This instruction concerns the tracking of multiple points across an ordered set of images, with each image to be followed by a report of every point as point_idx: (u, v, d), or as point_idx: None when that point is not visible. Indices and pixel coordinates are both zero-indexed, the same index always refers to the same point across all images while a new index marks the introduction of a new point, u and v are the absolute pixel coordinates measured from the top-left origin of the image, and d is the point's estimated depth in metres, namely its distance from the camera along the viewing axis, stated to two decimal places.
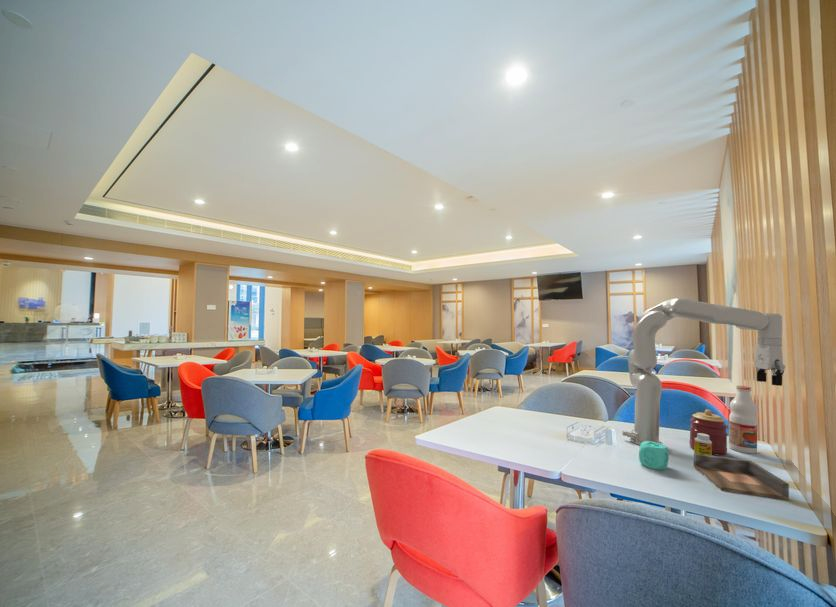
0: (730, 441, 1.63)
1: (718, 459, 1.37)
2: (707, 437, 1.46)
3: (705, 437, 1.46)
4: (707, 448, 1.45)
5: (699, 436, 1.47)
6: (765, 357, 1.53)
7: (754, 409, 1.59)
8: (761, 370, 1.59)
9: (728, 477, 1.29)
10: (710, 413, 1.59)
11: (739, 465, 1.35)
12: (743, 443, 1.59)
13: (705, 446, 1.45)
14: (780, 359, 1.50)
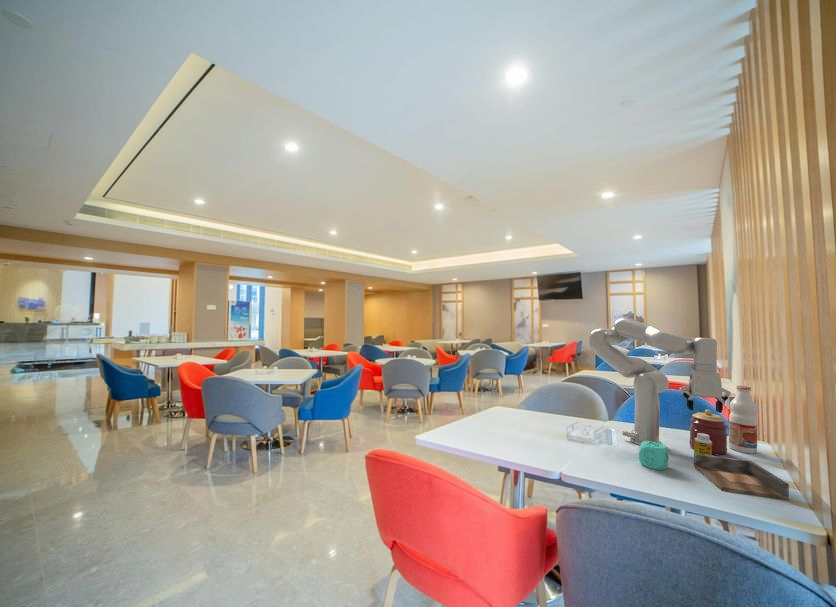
0: (730, 441, 1.63)
1: (718, 459, 1.37)
2: (707, 436, 1.46)
3: (705, 437, 1.46)
4: (707, 448, 1.45)
5: (699, 436, 1.47)
6: (715, 385, 1.45)
7: (754, 409, 1.59)
8: None
9: (728, 477, 1.29)
10: (710, 413, 1.59)
11: (739, 465, 1.35)
12: (743, 443, 1.59)
13: (705, 446, 1.45)
14: None
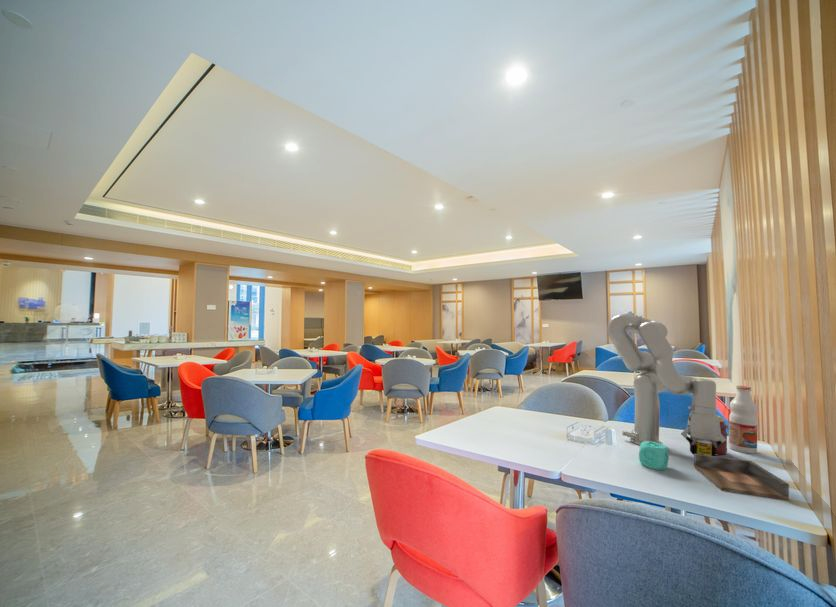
0: (730, 441, 1.63)
1: (718, 459, 1.37)
2: None
3: None
4: (707, 448, 1.45)
5: None
6: (714, 428, 1.45)
7: (754, 409, 1.59)
8: None
9: (728, 477, 1.29)
10: None
11: (739, 465, 1.35)
12: (743, 443, 1.59)
13: (705, 446, 1.45)
14: None
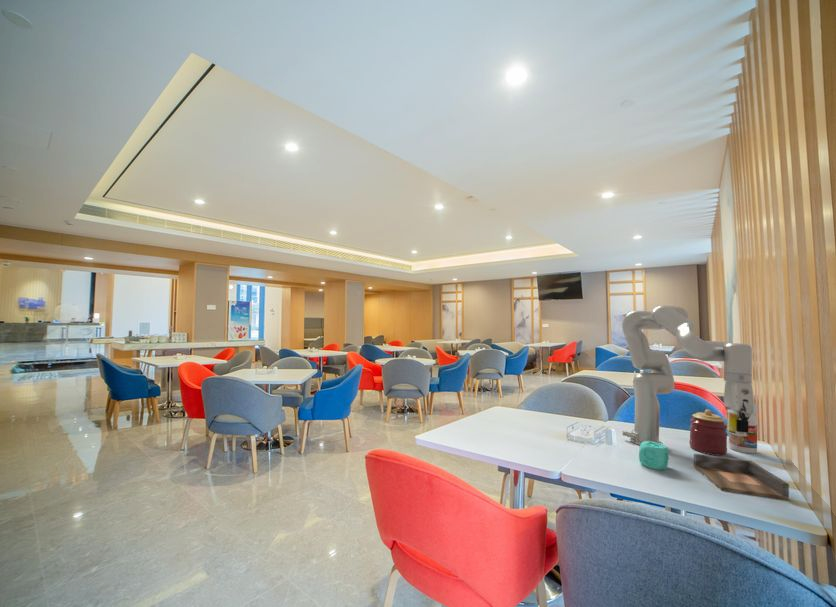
0: (730, 441, 1.63)
1: (718, 459, 1.37)
2: None
3: None
4: None
5: None
6: None
7: (754, 409, 1.59)
8: None
9: (728, 477, 1.29)
10: (710, 413, 1.59)
11: (739, 465, 1.35)
12: (743, 443, 1.59)
13: None
14: None
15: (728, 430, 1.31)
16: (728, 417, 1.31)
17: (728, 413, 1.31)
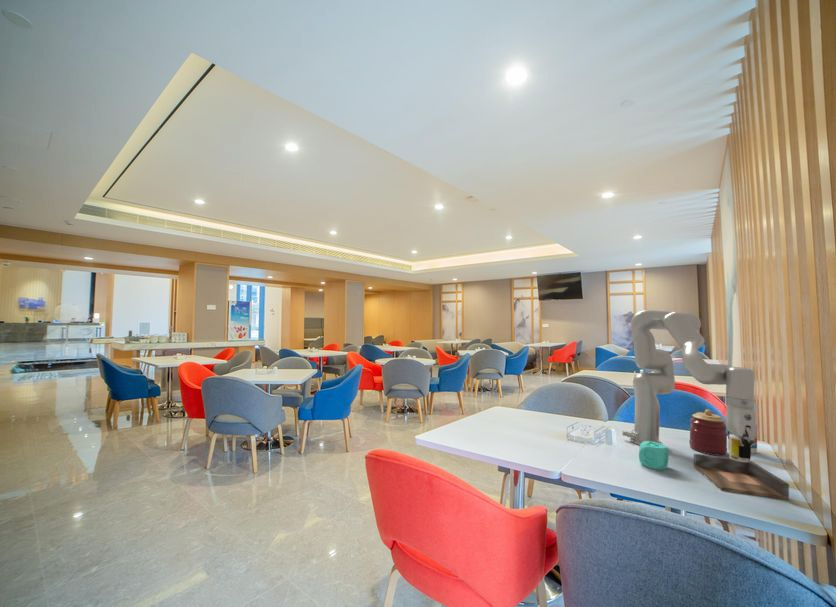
0: None
1: (718, 459, 1.37)
2: None
3: None
4: None
5: None
6: None
7: (754, 409, 1.59)
8: None
9: (728, 477, 1.29)
10: (710, 413, 1.59)
11: (739, 465, 1.35)
12: None
13: None
14: None
15: (730, 455, 1.29)
16: (730, 442, 1.29)
17: (730, 438, 1.30)
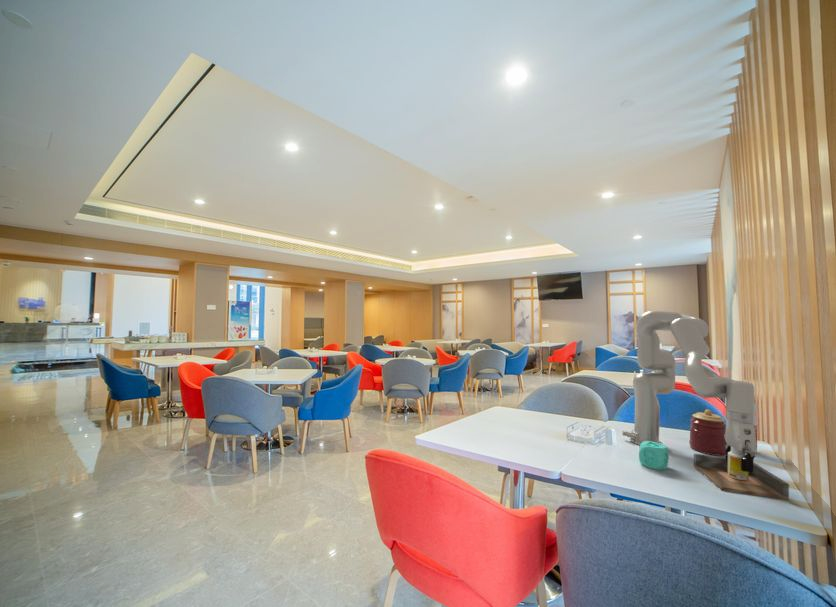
0: None
1: (718, 459, 1.37)
2: None
3: None
4: None
5: None
6: None
7: (754, 409, 1.59)
8: None
9: (728, 477, 1.29)
10: (710, 413, 1.59)
11: None
12: None
13: None
14: None
15: (729, 473, 1.29)
16: (729, 460, 1.30)
17: (729, 456, 1.30)
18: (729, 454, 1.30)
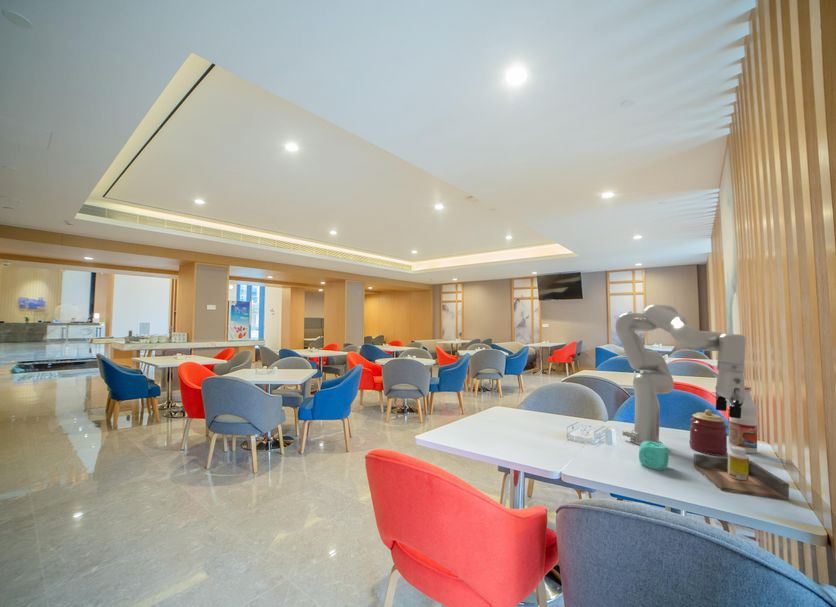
0: (730, 441, 1.63)
1: (718, 459, 1.37)
2: None
3: None
4: None
5: (744, 452, 1.27)
6: None
7: (754, 409, 1.59)
8: None
9: (728, 477, 1.29)
10: (710, 413, 1.59)
11: None
12: (743, 443, 1.59)
13: None
14: None
15: (729, 473, 1.29)
16: (729, 460, 1.30)
17: (729, 456, 1.30)
18: (729, 454, 1.30)
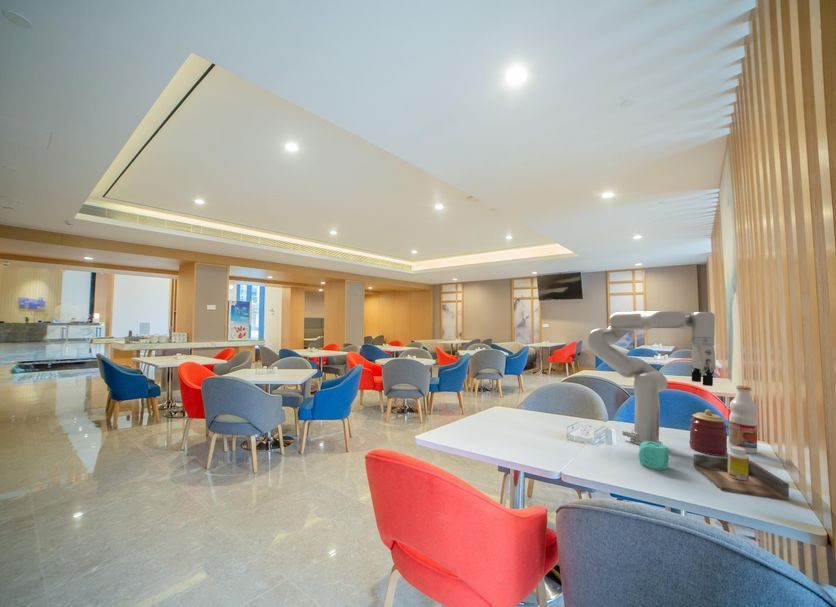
0: (730, 441, 1.63)
1: (718, 459, 1.37)
2: None
3: None
4: None
5: (744, 452, 1.27)
6: None
7: (754, 409, 1.59)
8: None
9: (728, 477, 1.29)
10: (710, 413, 1.59)
11: None
12: (743, 443, 1.59)
13: None
14: None
15: (729, 473, 1.29)
16: (729, 460, 1.30)
17: (729, 456, 1.30)
18: (729, 454, 1.30)
